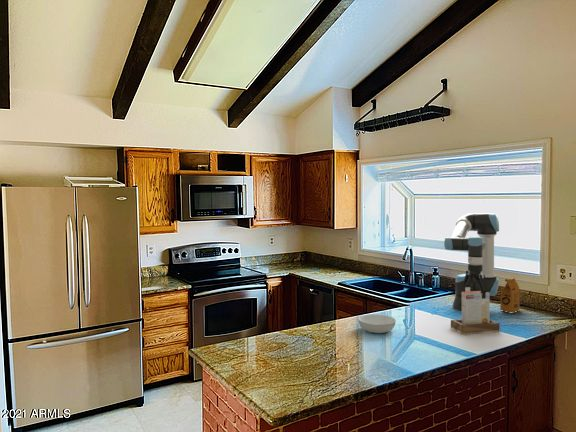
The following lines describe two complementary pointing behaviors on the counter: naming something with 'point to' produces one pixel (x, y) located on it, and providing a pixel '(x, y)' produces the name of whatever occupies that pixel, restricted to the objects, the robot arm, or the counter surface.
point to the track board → (474, 327)
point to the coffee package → (510, 296)
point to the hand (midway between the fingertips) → (475, 301)
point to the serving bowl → (376, 323)
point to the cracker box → (475, 308)
